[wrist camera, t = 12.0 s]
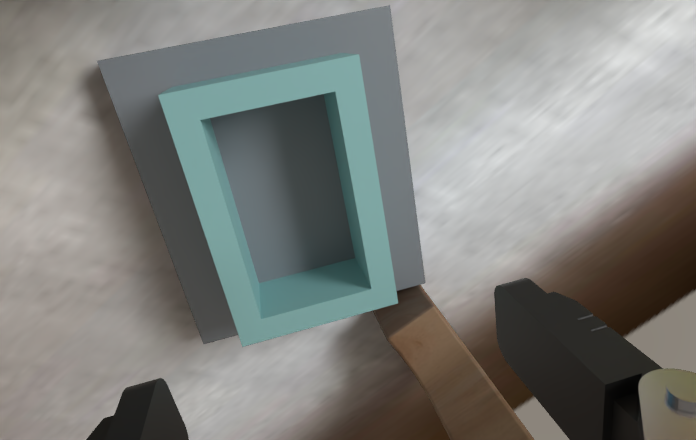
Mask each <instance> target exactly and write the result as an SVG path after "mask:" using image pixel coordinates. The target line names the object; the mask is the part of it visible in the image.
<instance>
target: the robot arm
mask: <svg viewBox="0 0 696 440" xmlns="http://www.w3.org/2000/svg"><path fill="white" fill-rule="evenodd" d="M494 296H495V312H496V328H497V340H498V344H499V347H500V350H501V352H502V354H503V356H504V358H505V360H506V361H507V363H508V364H509V365H510V367H511V368H512V369H513V370H514V371H515V373H516V374H517V375H518V376H519V378H520V379H521V380H522V381H523V383H524V384H525V385H526V386H527V388H528V389H529V390H530V391H531V392H532V394H533V395H534V396H535V397H536V399H537V400H538V401H539V402H540V403H541V405H542V406H543V407H544V408H545V410H546V411H547V412H548V413H549V415H550V416H551V417H552V418H553V419H554V421H555V422H556V423H557V424H558V426H559V427H560V428H561V429H562V431H563V432H564V433H565V434H566V435H567V437H568V438H569V439H570V440H696V373H693V372H690V371H686V370H680V369H663V368H661V367H660V366H659V365H658V364H656V363H655V362H654V361H653V360H651V359H650V358H649V357H647V356H646V355H645V354H644V353H642V352H641V351H640V350H638V349H637V348H636V347H634V346H633V345H632V344H631V343H629V342H628V341H627V340H626V339H624V338H623V337H622V336H621V335H619V334H618V333H617V332H615V331H614V330H613V329H612V328H610V327H609V328H608V327H607V325H606V324H605V323H604V322H603V321H601V320H600V319H599V318H597V317H596V316H595V317H594V316H593V314H592V313H591V312H590V311H589V310H587V309H586V308H585V307H583V306H582V305H581V304H580V303H578V302H577V301H575V300H573V299H571V298H568V297H566V296H563V295H561V294H558V293H556V292H552V293H548V294H547V293H546V292H545V291H543V290H542V289H541V288H540V287H539V286H537V285H536V284H535V283H534V282H533V281H531V280H530V279H528V278H524V279H520V280H516V281H513V282H509V283H505V284H502V285H498V286H496V288H495V292H494ZM86 440H189V439H188V433H187V430H186V427H185V424H184V422H183V420H182V417H181V415H180V413H179V411H178V408H177V406H176V404H175V402H174V399H173V397H172V395H171V392H170V390H169V388H168V386H167V384H166V382H165V381H164V380H163V379H162V378H159V379H156V380H152V381H149V382H145V383H141V384H138V385H134V386H131V387H127V388H126V389H125V390H124V391H123V393H122V396H121V399H120V401H119V404H118V407H117V409H116V412H115V415H114V416H110V417H107V418H104V419H103V420H102V421H101V422H100V424H99V425H98V426H97V427H96V428H95V430H94V431H93V432H92V433H91V435H90V436H89V437H88V438H87V439H86Z"/></svg>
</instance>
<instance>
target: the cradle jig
mask: <svg viewBox="0 0 696 440" xmlns="http://www.w3.org/2000/svg"><path fill="white" fill-rule="evenodd" d="M97 62H98V65H99V68H100V70H101V73H102V76H103V78H104V81H105V84H106V86H107V89H108V92H109V94H110V97H111V100H112V102H113V105H114V107H115V110H116V113H117V115H118V118H119V121H120V123H121V126H122V129H123V131H124V134H125V137H126V139H127V142H128V145H129V147H130V150H131V153H132V155H133V158H134V161H135V163H136V166H137V168H138V171H139V174H140V176H141V179H142V182H143V184H144V187H145V190H146V192H147V195H148V198H149V200H150V203H151V206H152V208H153V211H154V214H155V216H156V219H157V222H158V224H159V227H160V230H161V232H162V235H163V237H164V240H165V243H166V245H167V248H168V251H169V253H170V256H171V259H172V261H173V264H174V267H175V269H176V272H177V275H178V277H179V280H180V283H181V285H182V288H183V291H184V293H185V296H186V298H187V301H188V304H189V306H190V309H191V312H192V314H193V317H194V320H195V322H196V325H197V328H198V330H199V333H200V336H201V338H202V341H203V344H206V343H210V342H214V341H217V340H221V339H225V338H228V337H232V336H235V335H239V338H240V341H241V344H242V347H244V346H247V345H251V344H255V343H258V342H262V341H265V340H269V339H272V338H276V337H280V336H283V335H287V334H290V333H294V332H297V331H301V330H305V329H308V328H312V327H315V326H319V325H322V324H326V323H330V322H333V321H337V320H340V319H344V318H348V317H351V316H355V315H358V314H362V313H365V312H369V311H373V310H376V309H380V308H383V307H387V306H390V305H394V304H398V298H397V291H399V290H402V289H406V288H409V287H413V286H417V285H420V284H424V283H425V277H424V269H423V261H422V254H421V246H420V238H419V230H418V222H417V214H416V206H415V199H414V191H413V183H412V175H411V167H410V159H409V151H408V143H407V136H406V128H405V120H404V112H403V104H402V96H401V88H400V81H399V73H398V65H397V57H396V49H395V41H394V33H393V25H392V18H391V10H390V5H389V6H384V7H379V8H373V9H368V10H363V11H358V12H352V13H347V14H342V15H337V16H331V17H326V18H321V19H316V20H310V21H305V22H300V23H294V24H289V25H284V26H279V27H273V28H268V29H263V30H258V31H252V32H247V33H242V34H237V35H231V36H226V37H221V38H216V39H210V40H205V41H200V42H194V43H189V44H184V45H179V46H173V47H168V48H163V49H158V50H152V51H147V52H142V53H137V54H131V55H126V56H121V57H116V58H110V59H105V60H100V61H97Z"/></svg>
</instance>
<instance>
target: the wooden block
mask: <svg viewBox="0 0 696 440" xmlns="http://www.w3.org/2000/svg"><path fill="white" fill-rule="evenodd" d="M397 298H398V304H394V305H390V306H387V307H383V308H380V309H376V310H373V312H374V314H375V316H376V318H377V320H378V322H379V324H380V326H381V328H382V330H383V332H384V334H385V336H386V339H387V340H388V342H389V343H390V344H391V345H392V346H393V348H394V349H395V350H396V351H397V352H398V353H399V355H400V356H401V357H402V358H403V360H404V361H405V363H406V364H407V365H408V367H409V368H410V369H411V371H412V372H413V374H414V375H415V376H416V378H417V380H418V381H419V383H420V385H421V386H422V388H423V389H424V391H425V393H426V394H427V396H428V398H429V399H430V401H431V403H432V405H433V407H434V409H435V411H436V413H437V415H438V417H439V418H440V420H441V422H442V424H443V426H444V428H445V430H446V432H447V434H448V436H449V438H450V439H451V440H534V438H533V437H532V436H531V434H530V433H529V432H528V430H527V429H526V427H525V426H524V425H523V423H522V422H521V421H520V419H519V418H518V417H517V415H516V414H515V413H514V411H513V410H512V408H511V407H510V406H509V404H508V403H507V402H506V400H505V399H504V398H503V396H502V395H501V394H500V392H499V391H498V389H497V388H496V387H495V385H494V384H493V383H492V381H491V380H490V379H489V377H488V376H487V375H486V373H485V372H484V370H483V369H482V368H481V366H480V365H479V364H478V362H477V361H476V360H475V358H474V357H473V356H472V354H471V353H470V351H469V350H468V349H467V347H466V346H465V345H464V343H463V342H462V341H461V339H460V338H459V337H458V335H457V334H456V332H455V331H454V330H453V328H452V327H451V326H450V324H449V323H448V322H447V320H446V319H445V318H444V316H443V315H442V314H441V312H440V311H439V309H438V308H437V307H436V305H435V304H434V303H433V301H432V300H431V299H430V297H429V296H428V295H427V293H426V292H425V291H424V289H423V288H422V286H421V285H417V286H413V287H409V288H406V289H402V290H399V291H397Z"/></svg>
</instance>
